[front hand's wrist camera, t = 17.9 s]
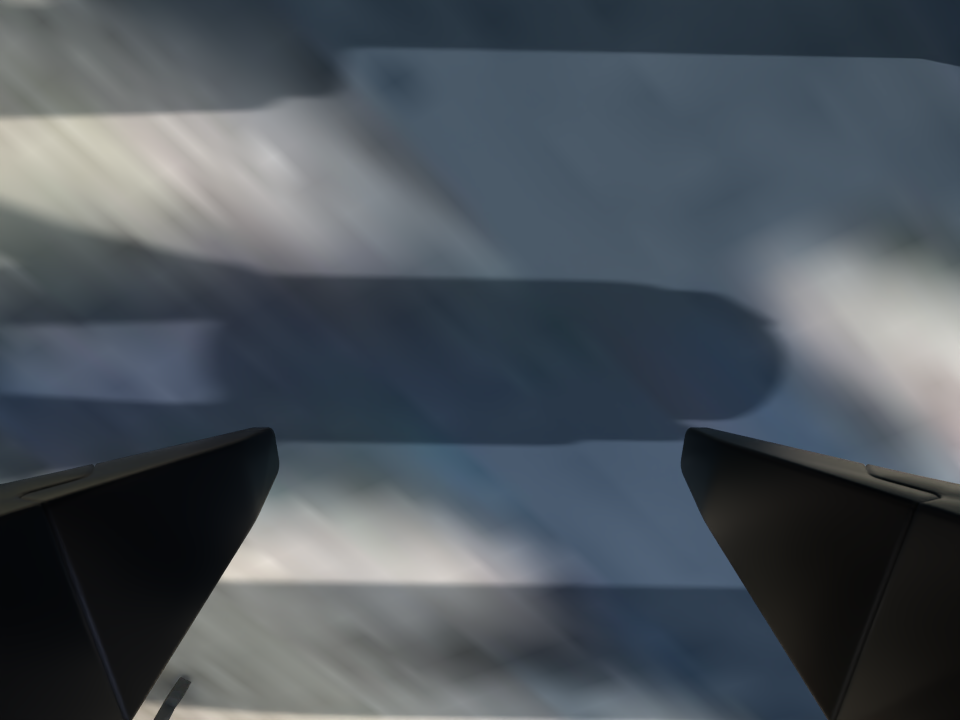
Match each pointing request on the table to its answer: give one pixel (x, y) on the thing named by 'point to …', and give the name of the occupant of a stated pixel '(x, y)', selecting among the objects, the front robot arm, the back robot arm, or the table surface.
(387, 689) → the table surface
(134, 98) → the table surface
